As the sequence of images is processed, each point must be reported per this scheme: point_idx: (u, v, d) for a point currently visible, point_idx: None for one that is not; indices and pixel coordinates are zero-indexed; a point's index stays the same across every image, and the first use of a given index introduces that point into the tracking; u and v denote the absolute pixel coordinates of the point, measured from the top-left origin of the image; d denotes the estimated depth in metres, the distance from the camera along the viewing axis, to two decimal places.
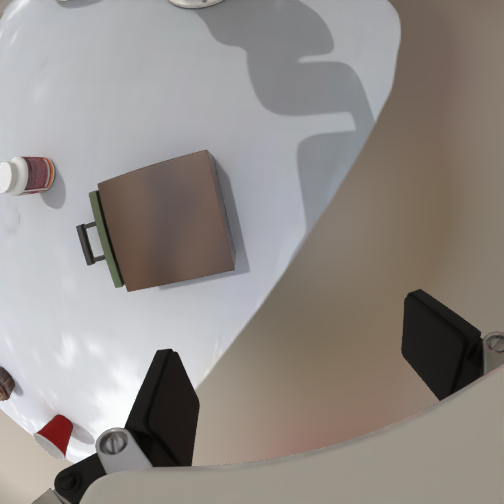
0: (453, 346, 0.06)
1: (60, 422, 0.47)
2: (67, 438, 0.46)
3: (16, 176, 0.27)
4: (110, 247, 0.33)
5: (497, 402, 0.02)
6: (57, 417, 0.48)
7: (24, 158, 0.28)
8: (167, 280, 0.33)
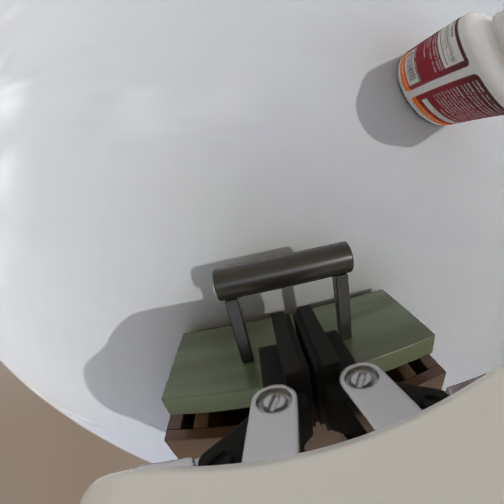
0: (313, 370, 0.07)
1: None
2: None
3: None
4: None
5: (497, 402, 0.02)
6: None
7: None
8: None
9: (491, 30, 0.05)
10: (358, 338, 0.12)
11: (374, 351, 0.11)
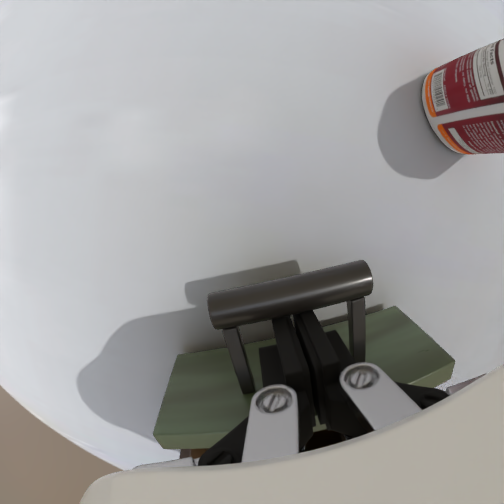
0: (313, 370, 0.07)
1: None
2: None
3: None
4: None
5: (497, 402, 0.02)
6: None
7: None
8: None
9: None
10: None
11: None
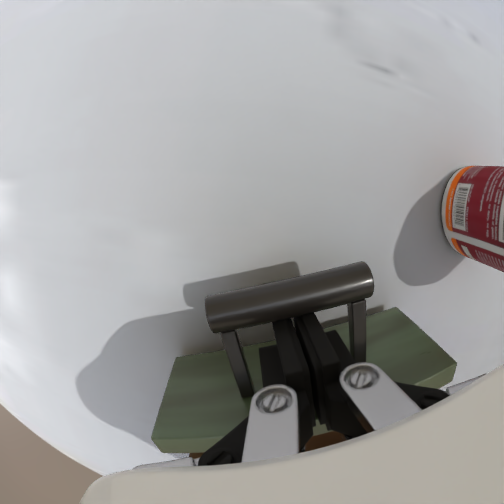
0: (313, 370, 0.07)
1: None
2: None
3: None
4: None
5: (497, 402, 0.02)
6: None
7: None
8: None
9: None
10: None
11: None
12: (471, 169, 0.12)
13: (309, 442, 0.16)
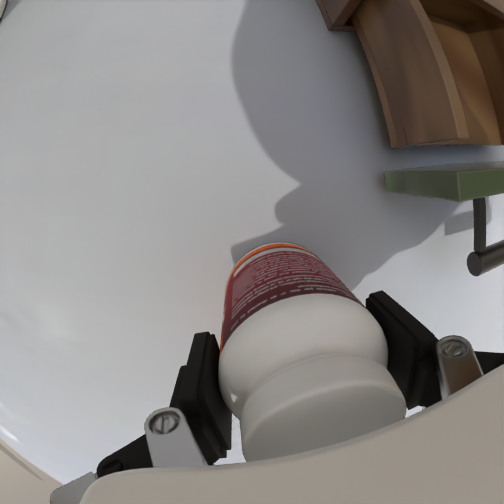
0: (406, 348, 0.07)
1: None
2: None
3: (339, 353, 0.06)
4: None
5: (497, 402, 0.02)
6: None
7: (231, 331, 0.09)
8: None
9: None
10: None
11: None
12: None
13: None
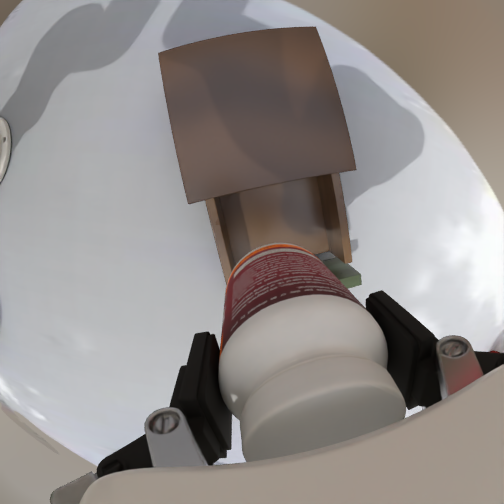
0: (406, 348, 0.07)
1: None
2: None
3: (338, 354, 0.06)
4: None
5: (497, 402, 0.02)
6: None
7: (231, 332, 0.09)
8: (336, 104, 0.20)
9: None
10: None
11: None
12: None
13: (270, 198, 0.28)
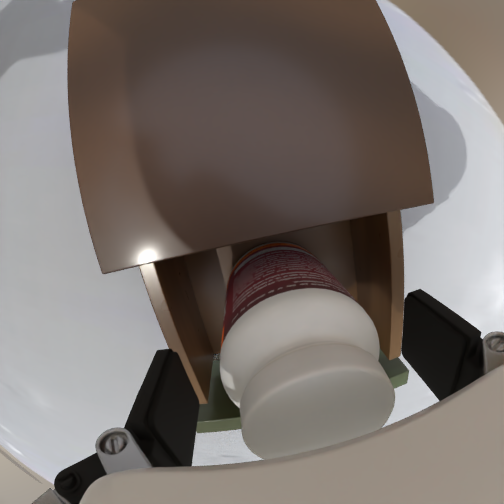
0: (453, 346, 0.06)
1: None
2: None
3: (330, 342, 0.07)
4: None
5: (497, 402, 0.02)
6: None
7: (232, 323, 0.09)
8: (399, 71, 0.08)
9: None
10: None
11: None
12: None
13: None
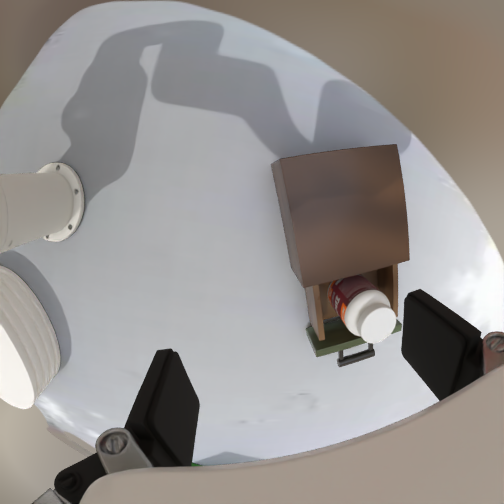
0: (453, 346, 0.06)
1: None
2: None
3: (379, 303, 0.28)
4: None
5: (497, 402, 0.02)
6: None
7: (349, 301, 0.30)
8: (404, 214, 0.29)
9: None
10: None
11: None
12: None
13: None
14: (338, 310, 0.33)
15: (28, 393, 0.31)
